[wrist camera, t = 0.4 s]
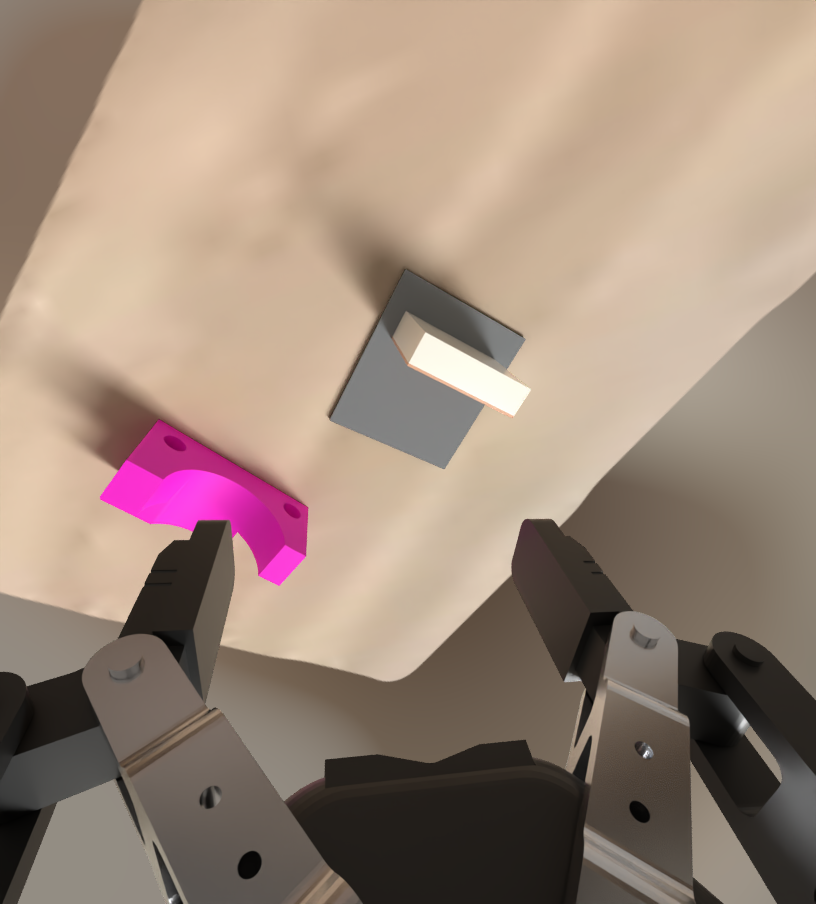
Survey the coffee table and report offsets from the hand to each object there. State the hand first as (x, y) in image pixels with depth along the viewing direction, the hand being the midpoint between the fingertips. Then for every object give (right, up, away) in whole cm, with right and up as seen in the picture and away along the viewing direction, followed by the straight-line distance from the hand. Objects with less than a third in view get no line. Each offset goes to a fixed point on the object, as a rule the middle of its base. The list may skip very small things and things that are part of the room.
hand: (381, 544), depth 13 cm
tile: (+4, +11, +27) cm, 29 cm away
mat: (+2, +9, +28) cm, 30 cm away
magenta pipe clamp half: (-17, -1, +30) cm, 34 cm away
